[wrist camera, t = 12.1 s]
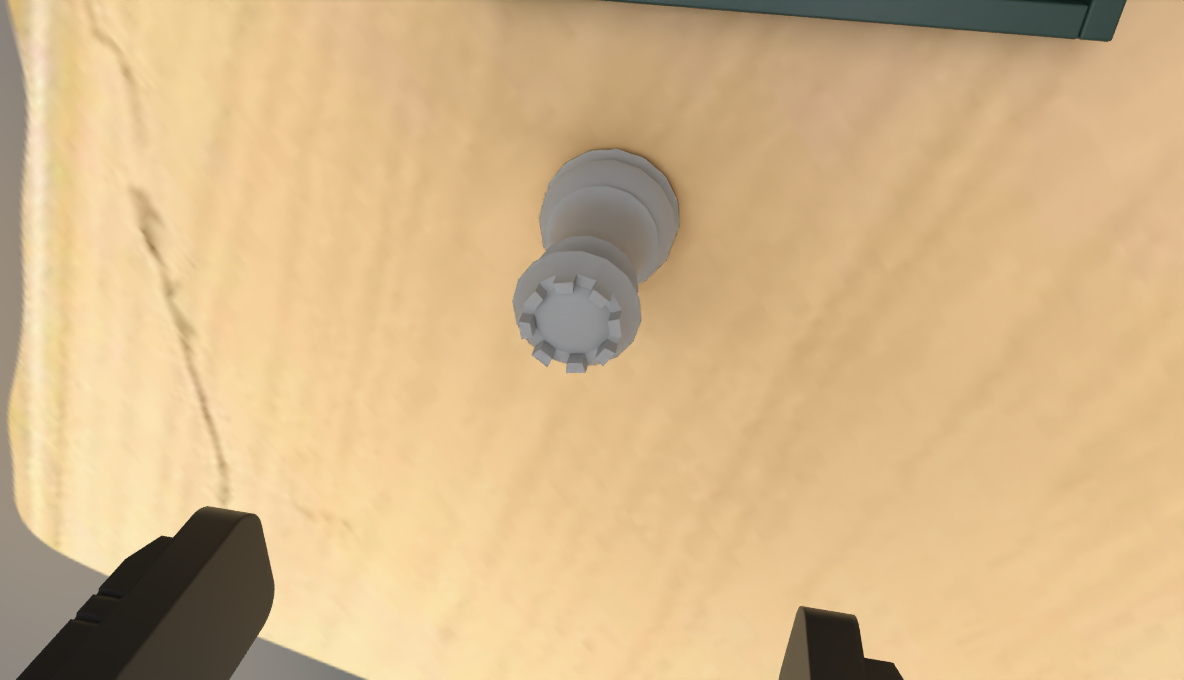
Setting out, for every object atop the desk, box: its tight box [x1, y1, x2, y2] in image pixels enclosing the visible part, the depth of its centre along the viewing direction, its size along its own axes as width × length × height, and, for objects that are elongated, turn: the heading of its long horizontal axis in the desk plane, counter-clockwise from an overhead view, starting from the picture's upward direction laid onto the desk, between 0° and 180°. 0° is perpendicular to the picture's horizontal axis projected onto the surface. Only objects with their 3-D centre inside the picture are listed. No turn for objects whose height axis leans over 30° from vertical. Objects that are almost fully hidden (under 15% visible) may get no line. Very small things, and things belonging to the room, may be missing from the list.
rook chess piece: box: [513, 149, 679, 373], centre depth 22 cm, size 4×4×8 cm
